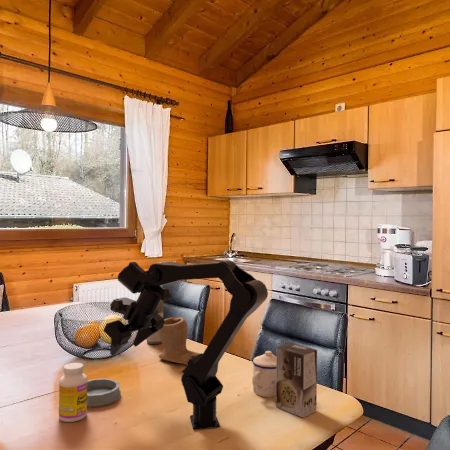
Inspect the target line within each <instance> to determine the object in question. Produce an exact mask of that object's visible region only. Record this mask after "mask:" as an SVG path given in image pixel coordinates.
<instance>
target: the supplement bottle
mask: <svg viewBox="0 0 450 450" xmlns="http://www.w3.org/2000/svg"><path fill="white" fill-rule="evenodd" d="M83 371H84V364H83V363H80V362H70V363H67V364H65V365H64V366H63V373H64V374H63V375H62V376H61V377H60V378H59V381H58V383H59V384H58V389H59V390H58V418H59V420H60V421H61V422H65V423H74V422H77V421H81V420H83V419H84V418H85V417H86V416H87V413H88V407H87V381H88V376H87V375H86V374H85V373H83Z"/></svg>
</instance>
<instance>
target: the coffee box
mask: <svg viewBox="0 0 450 450" xmlns="http://www.w3.org/2000/svg"><path fill="white" fill-rule="evenodd" d="M275 353H276V354H275V356H276V398H275V402H276V403H275V406H276V408H279V409H281V410H283V411H284V412H288V413H291V414H293V415H295V416H298V417H300V418H306V417H307V416H309V415H312V414H313V413H316V412H317V399H318V398H317V393H318V392H317V386H318V385H317V384H318V383H317V382H318V378H317V377H318V349H315V348H312V347H307V346H303V345H300V344H296V343H292V342H289V343H285V344H283V345H280V346H278V347H276V352H275Z"/></svg>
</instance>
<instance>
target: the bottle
mask: <svg viewBox="0 0 450 450" xmlns="http://www.w3.org/2000/svg"><path fill="white" fill-rule="evenodd" d="M164 302H165V300H164V301H163V300H161V302H160V304H159V306H158V307H157V309H156V310H157V311H158V314H159V315H160V316H161V317H162V318H164ZM145 341H146V343H147V344H149V345H159V344H162V341H161V339H160V336H159V333H158V331H157V332H156V333H154V334H153V335H151V336H150V337H149V338H147V339H146V340H145Z"/></svg>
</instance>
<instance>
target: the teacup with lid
mask: <svg viewBox="0 0 450 450" xmlns="http://www.w3.org/2000/svg"><path fill="white" fill-rule="evenodd" d="M252 365H253V367H252V368H253V374H252V379H251V381H252V382H251V383H252V390H253V393H254V394H256V395H257V396H259V397H262V398H275V397H276V354H273V352H272V351H270V350H266V351H265V352H264V353H263V354H262V355H258V356H256V357H254V358H253V360H252Z"/></svg>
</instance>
